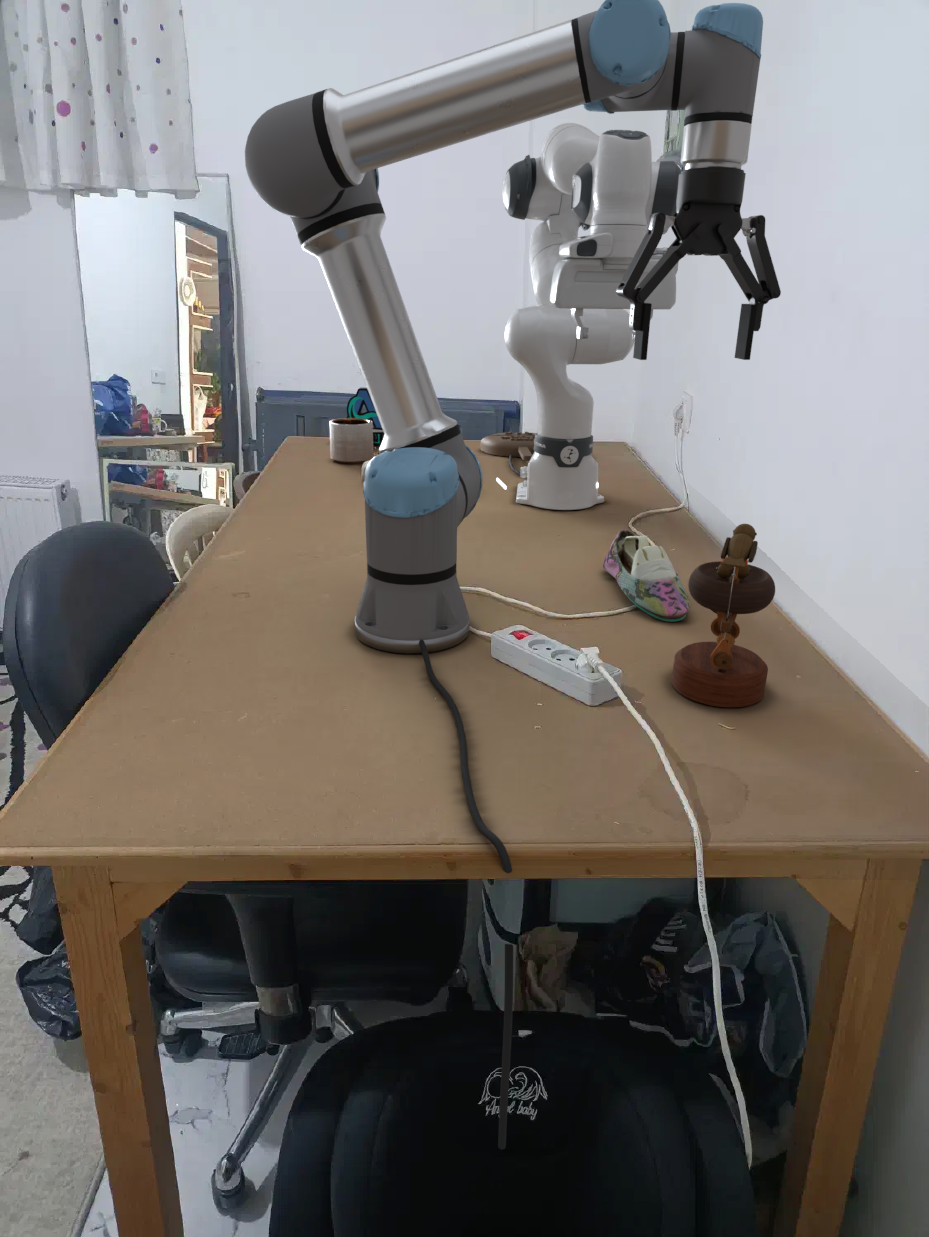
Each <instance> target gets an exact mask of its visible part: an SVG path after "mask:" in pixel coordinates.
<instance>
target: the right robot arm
mask: <svg viewBox="0 0 929 1237" xmlns="http://www.w3.org/2000/svg"><path fill="white" fill-rule="evenodd" d="M652 152H653V150H652V141H651V136H650V135H649V134H647V133H646V132H644V131H640V130H629V129H609V130H606V131H604V132H602V133H601V134H600V135H599V134H597V133H595V132H594V131H592V129H590V128H588V127H586V126H584V125H582V124H579V123H575V122H565V123H560V124H558V125H556V126H554V127H553V128H552V129H551V130H549V131H548V132H547V134H546V136H545V137H544V139H543V141H542V145H541V150H540V156H539V157H531V155H530V154H527V155H525V157H524V159H522V160H520V161H517V162H515V163H513V164H512V165H511V166H510V167H509V168H508V169H507V171H506V174H505V176H504V178H503V183H502V187H501V188H502V189H501V193H502V194H501V197H502V201H503V205H504V210H505V211H506V213H507V214H508V216H509V217H511V218H514V219H518V220H522V221H525V219H527V220H533V221H539V222H540V221H542V222H540V223H539V224H538V225H536V226H535V228H534V229H533V231H532V233H531V236H530V240H529V249H528V250H529V251H528V259H529V270H530V276H531V282H532V283H531V284H532V287H533V295H534V299H535V300H536V302H537V304H536V305H531V306H526V307H522V308H516V310H514V311H513V312H512V313H511V315H510V316H509V318H508V319H507V322H506V324H505V328H504V344H505V347H506V349H507V351H508V353H509V355H510V356H511V357H512V358H513V359H514V361H516V362H517V363H518V364H520V366H522V368H523V369H524V370H525V371H526V373H527V374H528V375H529V377H530V379H531V381H532V383H533V386H534V389H535V393H536V399H537V400H536V401H537V403H536V404H537V430H536V431H537V432H535V433H536V434H535V439H534V451H535V452H534V454H533V456H532V457H531V459H530V461H528V463H527V466H526V465H525V466H521V467H520V470H518V469H516V468H515V466H514V463H513V457H512V454H510V456H508V458H509V461H508V463H509V467H510V469H511V471H512V472H513V473H515V474H516V475H518V476H519V477H520V479H523V481H522V482H519V483H518V484H517V487H516V496H515V503H516V504H521V505H527V506H533V507H536V508H541V509H546V510H555V511H556V510H557V511H574V510H584V509H588V508H591V507H593V506H595V505H597V504H601V503H602V504H603V503H604V502H605V496H603V495H601V494H600V493H599V463H598V462H597V461H596V459H594V458H593V456H592V454H593V450H594V449H593V448H594V435H592V432H593V420H594V419H593V418H594V406H595V405H594V404H595V403H594V402H595V401H594V396H593V395H592V393H591V392H590V390H588V388H586V387H584V386H583V385H582V384H580V383H578V382H577V381H575V380H572V379H570V378H569V375H568V373H567V366H569V365H605V364H610V363H615V362H619V361H623V360H625V359H626V358H627V357H628V355H629V354H630V353H631V351H632V349H633V348H634V343H635V331H633V330H630V328H629V318H630V312H628V311H627V310H630V306H631V304H630V301H629V300H628V299H626V298H624V297H621V296H618V295H617V293H616V290H617V288H618V286H619V284H620V282H621V280H622V278H623V276H624V274H625V272H626V270H627V269H628V267H629V265H630V263H631V261H632V259H633V257H634V255H635V253H636V251H637V250H638V248H639V246H640V244H641V242H642V240H643V238H644V236H645V234H646V230H647V225H648V219H649V216H650V215H651V214H654V213H660V212H662V213H664V214H665V215H668V216H674V214H675V212H676V200H677V190H678V180H679V174H680V173H681V171H683V169H681V168H680V166H679V165H678V164H677V163H676V162H675V161H674V160H660V161H653V155H652V154H653V153H652ZM580 227H581V229H582V230H583V231H588V230H589V233H588V235H583V236H579V229H580ZM668 248H669V247H656V249H655V251H654V253H653V255H652V257H651V259H650V261H649V262H648V264H647V266H646V268H645V270H644V272H643V274H642V276H641V277H640V279H639V281H638V283H637V285H636V287H637V286H638V285H639V284H640V283H641V281H642V280H643V279H644V278H645V277H646V275H647V274H648V273H649V272H650V271H651V270H652V268H653V267H654V266H655V265H656V264H657V262H658V261H659V260H660V259H661V258H662V257H663V255H664V254H665V253H666V251H667V249H668ZM679 261H680V260H679ZM679 261H678V263H677V264H676V265H675V266H674V267H673V268H672V270H671V271H670V272H669V273H668V274H667V275H666V277H665V278H664V279H663V280H662V281H661V283H660V284H659V285H658V286H657V287H656V288H655V290H654V291H653V292H652V293H651V294H650V295H649V297H648V298H647V299H646V300H645V301H644V303H651V304H652V306H651V317H650V321H651V320H652V318H653V315H654V310H671V309H672V308H673V307H674V306H675V304H676V303H677V302H676V300H677V276H676V275H677V273H678V270H679ZM636 287H635V288H636ZM524 479H526V480H524ZM495 480H496V482H497V483H498V484H499V485H500V486H501V487H502V489H504V490H508V489H507V487H508V486H507V485H506V484H505V483H504V482H503V481H502V480H501V479H500V478H499V477H496V479H495Z"/></svg>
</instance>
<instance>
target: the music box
mask: <svg viewBox="0 0 929 1237" xmlns="http://www.w3.org/2000/svg"><path fill="white" fill-rule="evenodd" d="M757 535H758V534H757V532H756V529H755V528H754V526H752V525H751V524H749V523H740V524H739V525H737V526H736V527H735V528H734V529H733V530H732V536H731V537H730V536H727V537H726V538H725V541H724V543H723V547H722V550H721V553H720V559H722V560H720V561H719V560H718V561H717V560H716V561H709V562H705V563H702V564H700V565H698V566H697V567H695V569H694V570H692V572H691V574H690V576H689V578H688V583H687V585H688V591H689V594H690V596H691V598H692V599H693V600H694V601H695V602H696V603H697V604H698V605H700V606H702V607H703V608H705V609H708V610H709V611H711V612H712V613H714V614H715V615H716V616H717V617H716V618H714V619H713V620H712V621H711V622H710V631H711V633H712V634H713V635H714V636H716V639H715V641H699V642H693V643H689V644H687V645H685V646H684V647H682V648H681V649H679V650H677V651H676V653H674V659H673V665H672V674H671V684H672V687H673V688H674V689H675V691H677V692H678V693H679V694H680V695H682V696H683V697H685V698H687V699H689V700H692V701H694V702H696V703H700V704H703V705H706V706H707V705H708V706H713V707H719V708H720V707H721V708H743V707H748V706H752V705H755V704H757V703H759V702H760V701H761V700H762V699H763V698H764V695H765V690H766V685H767V678H768V672H769V667H768V664H767V663H766V661H764V659H763V658H761V656H760V655H759V654H757V653H756V652H755V651H752V650H750V649H748V648H746V647H743V646H741V645H738V644H737V645H736V644H735V643H736V639H737V638H739V635H740V633H741V629H740V626H739V624H738V623H737V622H736V619H737V617H738V616H737V615H748V614H756V613H758V612H760V611H762V610H764V609H766V608H767V607H768V606H769V605H770V604H771V603H772V601H773V600H774V597H775V595H776V584H775V580H774V579H773V577H772V576H771V575H770V573H769V572H768V571H766V570H764V568H763V569H762V568H761V567H758V566H755V565H752V563H753V562H754V560H755V557H756V554H757V550H758V540H755V539H756V537H757ZM749 563H750V564H749Z"/></svg>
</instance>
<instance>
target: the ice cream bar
mask: <svg viewBox="0 0 929 1237" xmlns="http://www.w3.org/2000/svg"><path fill="white" fill-rule="evenodd" d="M536 433H537V432H529V431H524V432H517V431H516V432H513V431H508V432H505V431H504V432H497V433H493V434H490V435H486V436H483V438H482V439H481V440H480V448H479V449H480V451H481V452H483V453H486V454H488V455H493V456H500V457H509V456H510V454H512V458H513V457H514V458H515V457H517V458H519V457H520V458H521V460H522V461H525V462H529V461H530V459H531V457H532V456H533V454H534V452H535V451H534V439H535V434H536Z"/></svg>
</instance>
